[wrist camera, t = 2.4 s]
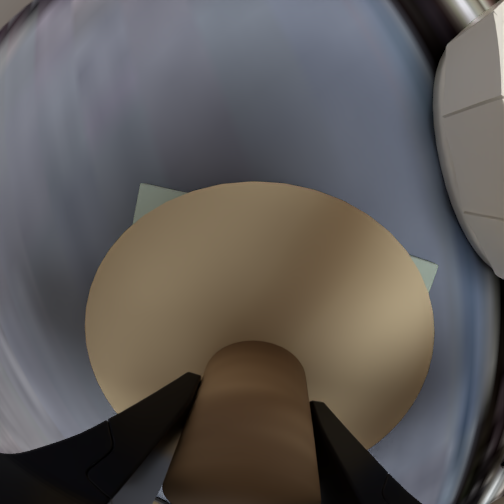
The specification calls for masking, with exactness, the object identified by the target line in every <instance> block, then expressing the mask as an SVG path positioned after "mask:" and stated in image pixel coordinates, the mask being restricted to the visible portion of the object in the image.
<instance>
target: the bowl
mask: <svg viewBox="0 0 504 504" xmlns="http://www.w3.org/2000/svg"><path fill="white" fill-rule="evenodd" d="M433 119H434V130H435V138H436V146H437V151H438V156H439V162H440V167H441V170H442V174H443V178H444V182H445V186H446V189H447V192H448V195H449V198H450V201H451V204H452V207H453V209H454V212H455V214H456V217H457V219H458V222H459V224H460V226H461V228H462V230H463V232H464V233H465V235H466V237H467V239H468V241H469V242H470V244H471V245H472V247H473V248H474V250H475V252H476V253H477V254H478V255H479V256H480V257H481V259H482V260H483V261H484V262H485V263H486V264H487V265H489V266H490V267H491V268H492V269H493V271H494V273H495V275H497V276H498V277H500V278H502V279H504V0H500V1H499V2H497V3H496V4H495V5H493V6H492V7H490V8H489V9H488V10H486V11H485V12H484V13H482V14H481V15H479V16H478V17H477V18H475V19H474V20H473V21H472V22H471V23H470V24H469V25H468V26H467V27H465V28H464V29H463V30H462V31H461V32H460V33H459V34H458V35H457V36H456V37H455V38H453V39H452V40H451V41H450V42H449V43H448V44H447V46H446V49H445V51H444V53H443V55H442V57H441V58H440V61H439V64H438V67H437V71H436V75H435V82H434V88H433Z"/></svg>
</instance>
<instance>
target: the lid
mask: <svg viewBox="0 0 504 504" xmlns="http://www.w3.org/2000/svg"><path fill="white" fill-rule="evenodd" d="M85 335H86V346H87V350H88V355H89V359H90V363H91V366H92V369H93V371H94V374H95V377H96V379H97V382H98V384H99V386H100V387H101V389H102V391H103V393H104V395H105V397H106V398H107V400H108V401H109V403H110V404H111V406H112V407H113V409H114V410H115V411H116V413H117V414H118V413H120V412H122V411H124V410H125V409H127V408H129V407H131V406H132V405H134V404H136V403H137V402H139V401H141V400H143V399H144V398H146V397H148V396H149V395H151V394H153V393H154V392H156V391H158V390H159V389H161V388H162V387H164V386H166V385H167V384H169V383H171V382H172V381H174V380H175V379H177V378H179V377H180V376H182V375H183V374H185V373H186V372H192V373H195V374H199V375H201V382H200V385H199V388H198V390H197V393H196V396H195V398H194V401H193V404H192V406H191V409H190V412H189V414H188V417H187V419H186V422H185V425H184V427H183V430H182V433H181V436H180V438H179V441H178V444H177V446H176V449H175V452H174V454H173V457H172V460H171V463H170V465H169V468H168V471H167V473H166V476H165V479H164V481H163V485H162V489H163V493H164V495H165V497H166V498H167V499H168V500H169V502H170V503H171V504H321V493H320V484H319V475H318V466H317V457H316V449H315V441H314V433H313V425H312V418H311V410H310V403H309V402H310V401H312V400H314V401H321V402H324V403H325V404H326V405H327V406H328V408H329V409H330V410H331V411H332V412H333V413H334V414H335V416H336V417H337V418H338V419H339V420H340V421H341V422H342V423H343V424H344V426H345V427H346V428H347V429H348V430H349V431H350V432H351V433H352V434H353V436H354V437H355V438H356V439H357V440H358V441H359V442H360V443H361V444H362V445H363V446H364V448H365V449H366V450H368V449H369V448H371V447H372V446H374V445H375V444H376V443H378V442H379V441H380V440H381V439H382V438H384V437H385V436H386V435H387V434H388V433H389V432H390V431H391V430H392V429H393V428H394V427H395V426H396V425H397V424H398V423H399V422H400V421H401V419H402V418H403V417H404V416H405V414H406V413H407V412H408V410H409V409H410V407H411V406H412V405H413V403H414V401H415V399H416V398H417V396H418V394H419V392H420V390H421V388H422V386H423V383H424V381H425V378H426V376H427V373H428V370H429V366H430V362H431V358H432V354H433V344H434V319H433V311H432V306H431V302H430V298H429V294H428V291H427V288H426V286H425V283H424V281H423V279H422V276H421V274H420V272H419V270H418V268H417V267H416V265H415V263H414V262H413V260H412V259H411V257H410V256H409V254H408V252H407V251H406V250H405V249H404V248H403V246H402V245H401V244H400V243H399V242H398V241H397V240H396V239H395V237H394V236H393V235H392V234H391V233H390V232H389V231H388V230H386V229H385V228H384V227H383V226H382V225H380V224H379V223H378V222H377V221H375V220H374V219H373V218H371V217H370V216H369V215H368V214H366V213H364V212H362V211H361V210H359V209H357V208H355V207H354V206H352V205H350V204H348V203H346V202H345V201H343V200H340V199H338V198H335V197H332V196H330V195H327V194H325V193H322V192H319V191H316V190H313V189H309V188H304V187H299V186H295V185H290V184H285V183H272V182H256V181H251V182H239V183H227V184H220V185H216V186H211V187H207V188H203V189H199V190H195V191H192V192H189V193H187V194H184V195H182V196H179V197H177V198H174V199H172V200H169V201H167V202H165V203H164V204H162V205H160V206H159V207H157V208H155V209H154V210H152V211H150V212H149V213H147V214H145V215H144V216H143V217H141V218H140V219H139V220H138V221H137V222H135V223H134V224H133V225H132V226H131V227H130V228H128V229H127V230H126V231H125V232H124V233H123V234H122V235H121V236H120V238H119V239H118V240H117V241H116V242H115V244H114V245H113V246H112V247H111V248H110V249H109V251H108V253H107V254H106V256H105V258H104V259H103V261H102V263H101V264H100V266H99V268H98V270H97V272H96V275H95V277H94V280H93V282H92V285H91V288H90V292H89V296H88V301H87V305H86V316H85Z"/></svg>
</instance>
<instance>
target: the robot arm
mask: <svg viewBox="0 0 504 504" xmlns="http://www.w3.org/2000/svg"><path fill="white" fill-rule="evenodd" d="M200 382H201V375H199V374H195V373H192V372H186V373H185V374H183V375H182V376H180V377H179V378H177V379H175V380H174V381H172V382H171V383H169V384H167V385H166V386H164V387H162V388H161V389H159V390H158V391H156V392H154V393H153V394H151V395H149V396H148V397H146V398H144V399H143V400H141V401H139V402H137V403H136V404H134V405H132V406H131V407H129V408H127V409H125V410H124V411H122V412H120V413H118V414H117V415H115V416H113V417H111V418H110V419H108V421H107V420H106V421H104V422H102V423H100V424H98V425H97V426H95V427H93V428H91V429H88V430H86V431H84V432H82V433H80V434H77V435H75V436H72V437H70V438H67V439H65V440H62V441H59V442H56V443H53V444H50V445H47V446H43V447H40V448H37V449H34V450H30V451H27V452H22V453H16V454H4V453H0V504H153V502H154V500H155V498H156V496H157V494H158V492H159V490H160V488H161V486H162V484H163V481H164V479H165V476H166V473H167V471H168V468H169V465H170V463H171V460H172V457H173V454H174V452H175V449H176V446H177V444H178V441H179V438H180V436H181V433H182V430H183V427H184V425H185V422H186V419H187V417H188V414H189V412H190V409H191V406H192V404H193V401H194V398H195V396H196V393H197V390H198V388H199V385H200ZM309 403H310V410H311V418H312V425H313V433H314V441H315V449H316V457H317V466H318V475H319V484H320V493H321V504H422V503H420V502H419V501H418V500H417V499H415V498H414V497H413V496H412V495H411V494H410V493H408V492H407V491H406V490H405V489H404V488H403V487H402V486H401V485H400V484H399V483H398V482H397V481H396V480H395V479H394V478H393V477H392V476H391V475H390V474H388V472H387V471H386V470H385V469H384V468H383V467H382V466H381V465H380V464H379V463H378V461H377V460H376V459H375V458H374V457H373V456H372V455H371V454H370V453H369V452H368V451H367V450H366V449H365V448H364V446H363V445H362V444H361V443H360V442H359V441H358V440H357V439H356V438H355V437H354V436H353V434H352V433H351V432H350V431H349V430H348V429H347V428H346V427H345V426H344V424H343V423H342V422H341V421H340V420H339V419H338V418H337V417H336V416H335V414H334V413H333V412H332V411H331V410H330V409H329V408H328V406H327V405H326V404H325V403H324V402H321V401H314V400H312V401H310V402H309ZM501 466H502V468H504V462H503V463H502V464H501Z"/></svg>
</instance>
